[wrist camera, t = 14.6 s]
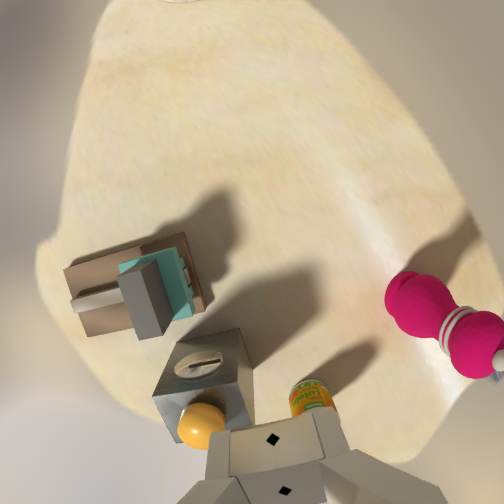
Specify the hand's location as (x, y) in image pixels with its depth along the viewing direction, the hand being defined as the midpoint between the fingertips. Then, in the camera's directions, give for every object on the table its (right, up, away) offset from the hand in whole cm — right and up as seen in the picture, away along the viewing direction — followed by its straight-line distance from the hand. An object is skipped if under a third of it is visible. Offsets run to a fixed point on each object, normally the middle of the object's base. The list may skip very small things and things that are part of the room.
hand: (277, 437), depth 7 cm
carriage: (-10, +1, +28) cm, 30 cm away
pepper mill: (+19, -1, +31) cm, 36 cm away
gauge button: (-5, -10, +19) cm, 22 cm away
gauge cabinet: (-5, -8, +31) cm, 33 cm away
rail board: (-15, 0, +30) cm, 33 cm away
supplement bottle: (+7, -14, +33) cm, 36 cm away
